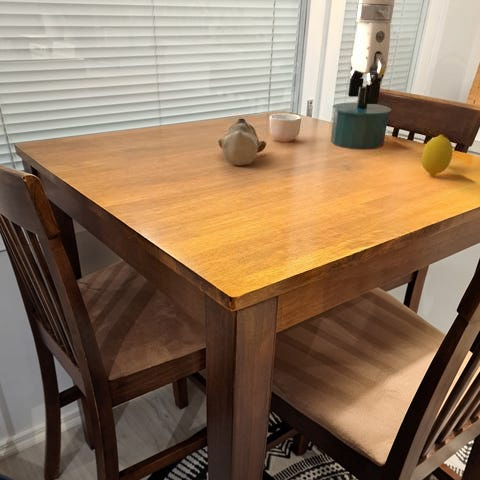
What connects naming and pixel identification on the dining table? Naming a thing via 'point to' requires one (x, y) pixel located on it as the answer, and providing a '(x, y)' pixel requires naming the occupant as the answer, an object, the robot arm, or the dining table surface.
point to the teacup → (284, 126)
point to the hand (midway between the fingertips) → (362, 99)
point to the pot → (358, 131)
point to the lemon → (437, 155)
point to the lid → (361, 107)
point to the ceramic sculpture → (241, 143)
